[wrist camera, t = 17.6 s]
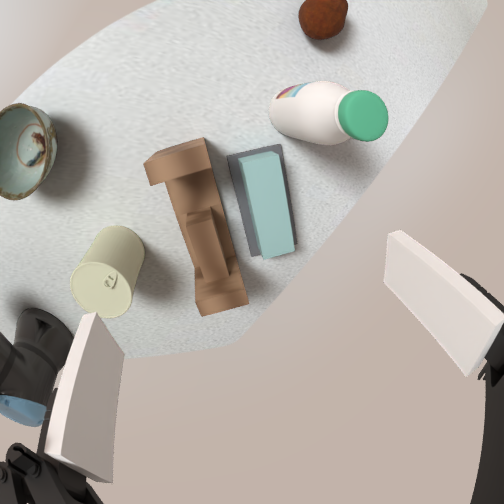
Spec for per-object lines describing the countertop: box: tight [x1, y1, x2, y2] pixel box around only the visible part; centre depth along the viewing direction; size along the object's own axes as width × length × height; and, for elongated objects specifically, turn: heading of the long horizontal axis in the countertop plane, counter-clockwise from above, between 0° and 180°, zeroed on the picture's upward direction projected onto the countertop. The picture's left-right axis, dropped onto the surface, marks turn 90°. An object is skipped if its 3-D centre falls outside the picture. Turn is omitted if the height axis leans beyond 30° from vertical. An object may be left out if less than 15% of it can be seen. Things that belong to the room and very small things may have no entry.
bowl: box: [0, 103, 57, 200], centre depth 27 cm, size 14×13×8 cm
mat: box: [227, 144, 297, 257], centre depth 42 cm, size 8×17×1 cm, turn 12°
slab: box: [238, 151, 295, 260], centre depth 40 cm, size 5×15×4 cm, turn 12°
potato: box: [299, 0, 348, 40], centre depth 27 cm, size 7×9×6 cm
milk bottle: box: [269, 81, 388, 145], centre depth 28 cm, size 8×8×20 cm
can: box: [70, 226, 145, 318], centre depth 36 cm, size 9×9×12 cm
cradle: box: [143, 137, 249, 317], centre depth 37 cm, size 7×22×10 cm, turn 12°
